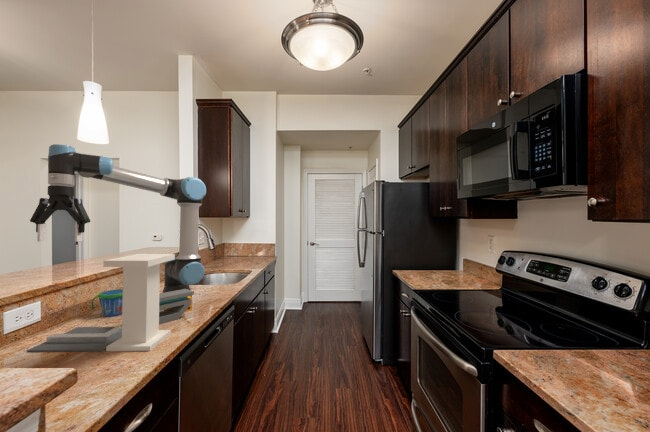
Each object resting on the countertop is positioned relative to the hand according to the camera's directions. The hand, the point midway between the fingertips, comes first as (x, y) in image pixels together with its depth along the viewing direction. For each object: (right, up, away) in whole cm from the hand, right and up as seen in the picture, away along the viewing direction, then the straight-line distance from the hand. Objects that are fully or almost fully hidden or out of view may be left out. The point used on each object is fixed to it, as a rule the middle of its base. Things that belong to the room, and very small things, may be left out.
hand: (60, 241), depth 109 cm
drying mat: (+16, -35, -6) cm, 39 cm away
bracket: (+15, -34, -6) cm, 38 cm away
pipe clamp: (+32, -36, +24) cm, 54 cm away
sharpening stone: (+31, -35, +12) cm, 49 cm away
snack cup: (+5, -35, +20) cm, 41 cm away
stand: (+36, -35, -8) cm, 51 cm away
